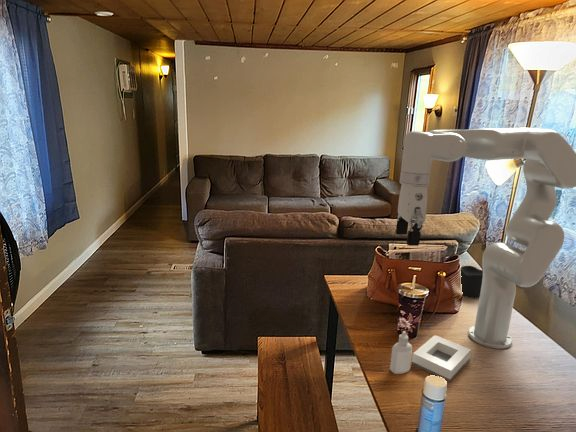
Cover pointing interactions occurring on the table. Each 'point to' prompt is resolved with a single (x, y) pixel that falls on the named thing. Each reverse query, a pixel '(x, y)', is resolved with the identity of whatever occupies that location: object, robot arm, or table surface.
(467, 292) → the pen holder
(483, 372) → the table surface
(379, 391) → the table surface
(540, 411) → the table surface
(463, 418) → the table surface
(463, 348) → the bottle holder
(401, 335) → the eye dropper bottle
